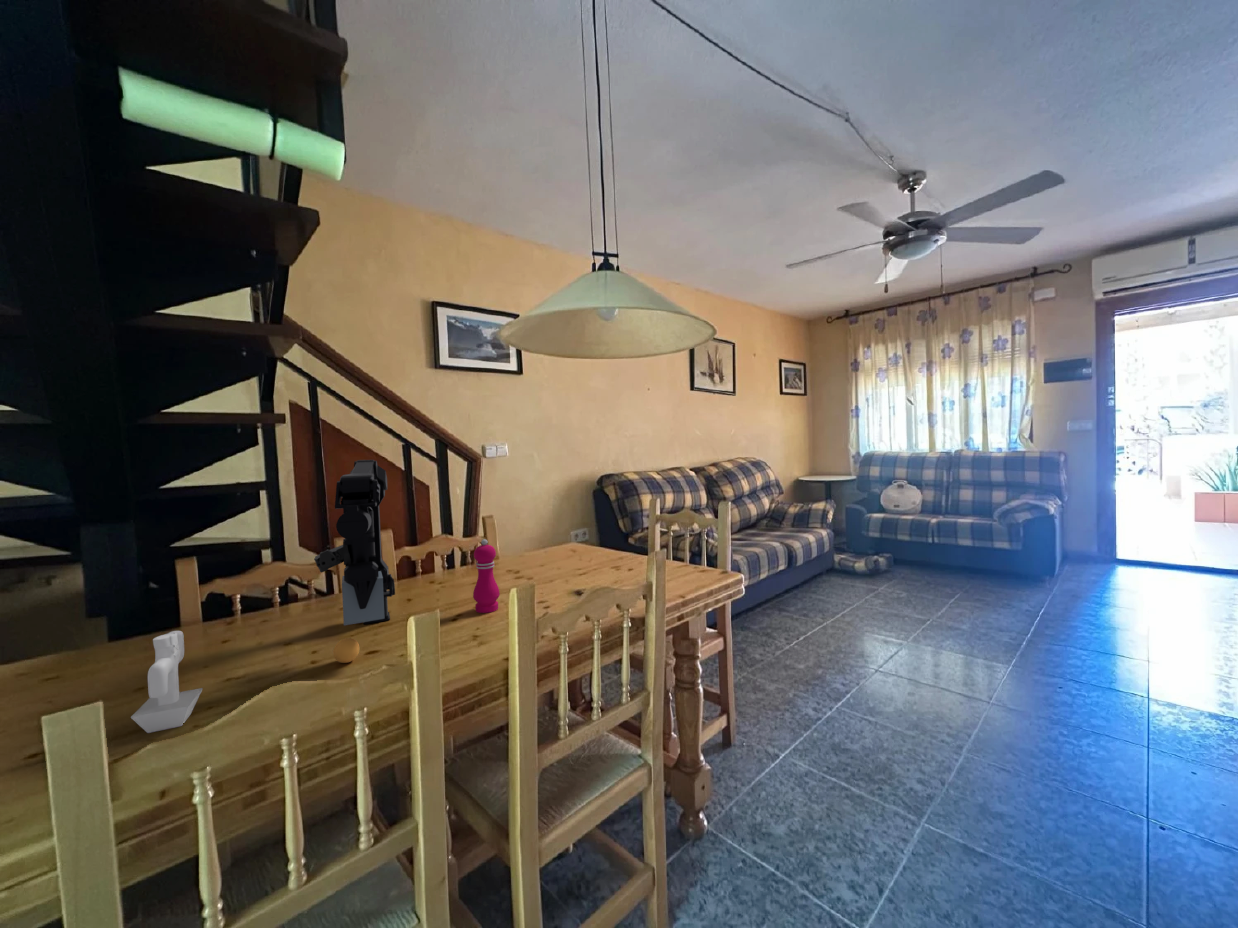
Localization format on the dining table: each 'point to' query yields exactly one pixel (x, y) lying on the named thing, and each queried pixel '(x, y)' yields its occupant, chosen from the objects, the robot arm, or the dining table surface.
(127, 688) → the dining table surface
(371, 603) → the slate grey cube
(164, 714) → the figurine
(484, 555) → the pepper mill
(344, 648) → the ball
